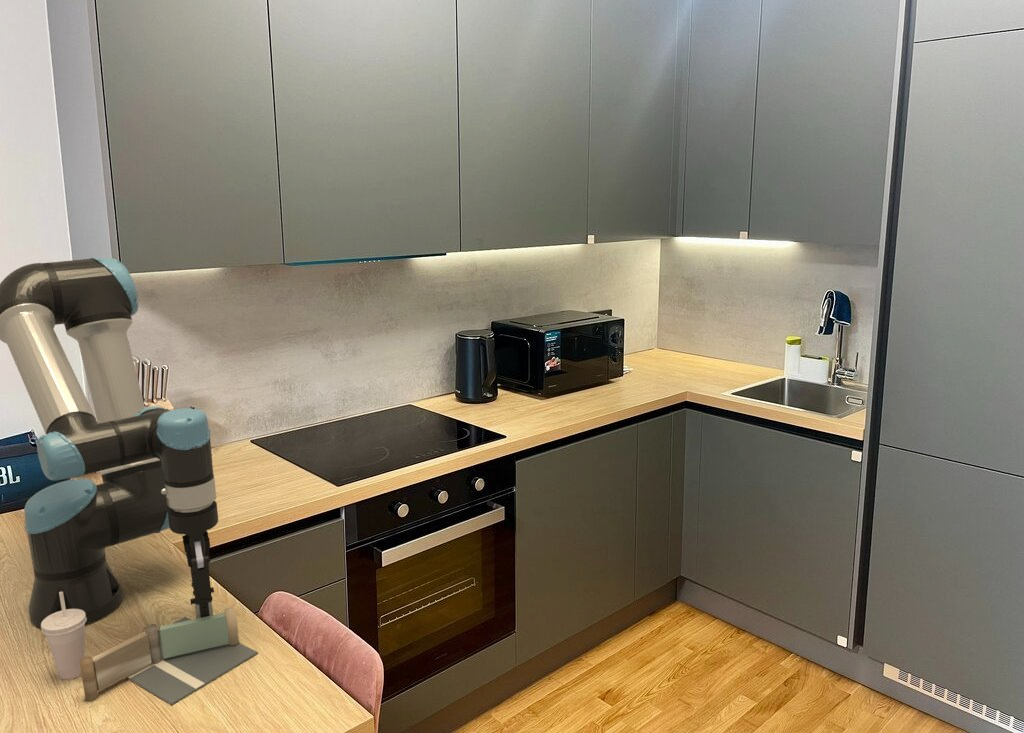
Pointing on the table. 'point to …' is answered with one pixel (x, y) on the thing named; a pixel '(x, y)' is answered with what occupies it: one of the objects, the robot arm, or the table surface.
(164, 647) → the gate panel
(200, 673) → the card
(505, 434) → the table surface
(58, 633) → the smoothie
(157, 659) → the base
